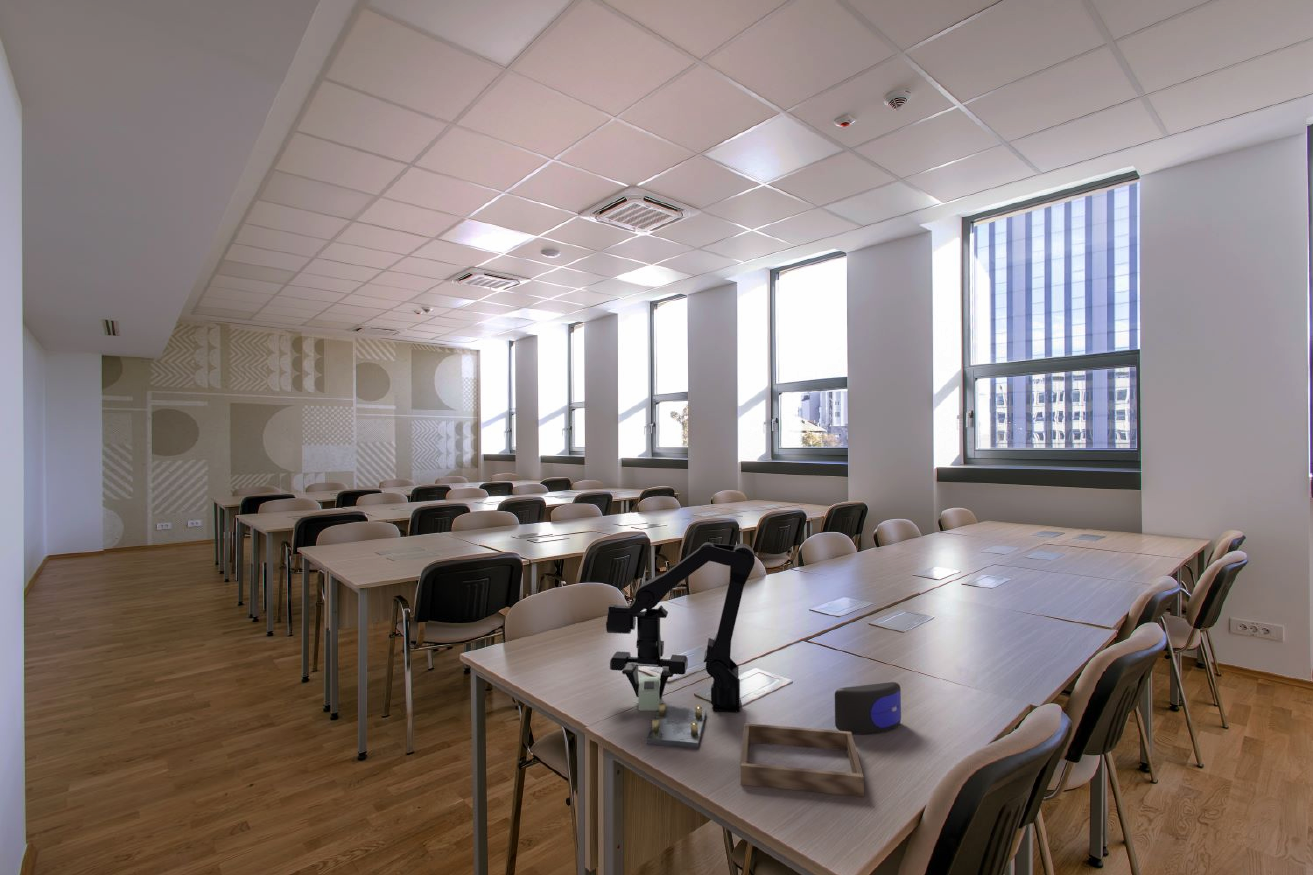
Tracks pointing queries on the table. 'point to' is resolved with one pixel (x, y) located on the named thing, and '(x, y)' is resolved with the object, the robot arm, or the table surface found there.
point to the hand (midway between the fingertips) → (649, 697)
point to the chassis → (677, 726)
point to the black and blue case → (868, 708)
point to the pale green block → (649, 693)
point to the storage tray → (800, 776)
